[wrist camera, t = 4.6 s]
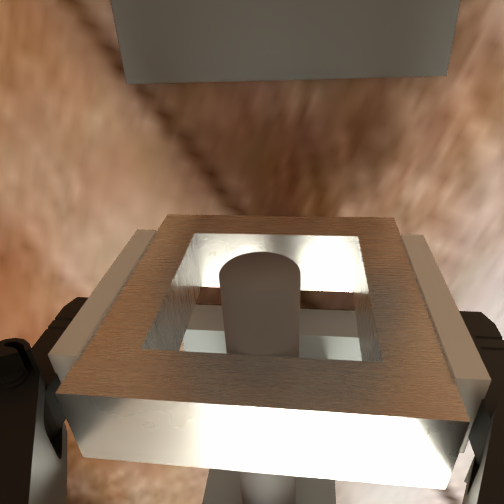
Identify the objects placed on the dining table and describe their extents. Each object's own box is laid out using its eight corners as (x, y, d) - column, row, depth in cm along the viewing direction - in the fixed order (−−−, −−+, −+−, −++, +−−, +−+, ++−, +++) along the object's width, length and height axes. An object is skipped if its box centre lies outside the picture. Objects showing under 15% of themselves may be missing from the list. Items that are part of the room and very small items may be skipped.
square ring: (175, 265, 18) (83, 457, 11) (167, 214, 17) (55, 393, 10) (385, 271, 17) (445, 489, 10) (393, 217, 16) (470, 422, 8)
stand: (364, 400, 25) (401, 673, 15) (203, 390, 26) (139, 635, 16) (401, 152, 17) (536, 383, 7) (166, 153, 18) (-7, 352, 8)
